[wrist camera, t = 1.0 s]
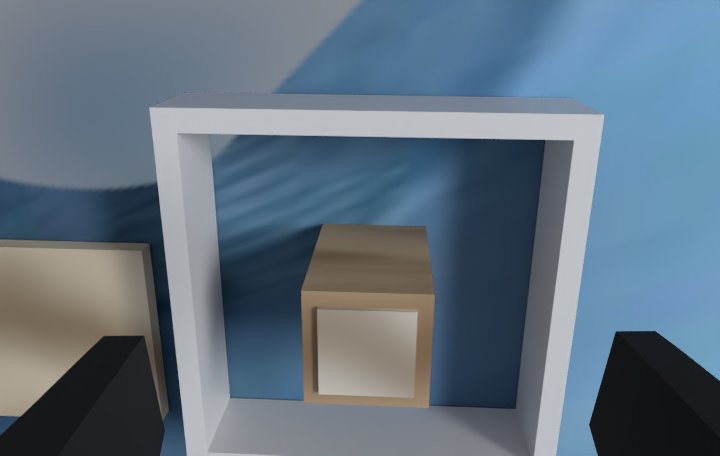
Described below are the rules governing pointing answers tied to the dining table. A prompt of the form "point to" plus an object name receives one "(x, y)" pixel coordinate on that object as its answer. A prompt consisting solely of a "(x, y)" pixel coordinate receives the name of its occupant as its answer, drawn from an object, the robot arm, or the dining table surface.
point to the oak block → (368, 317)
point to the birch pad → (70, 312)
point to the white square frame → (358, 422)
